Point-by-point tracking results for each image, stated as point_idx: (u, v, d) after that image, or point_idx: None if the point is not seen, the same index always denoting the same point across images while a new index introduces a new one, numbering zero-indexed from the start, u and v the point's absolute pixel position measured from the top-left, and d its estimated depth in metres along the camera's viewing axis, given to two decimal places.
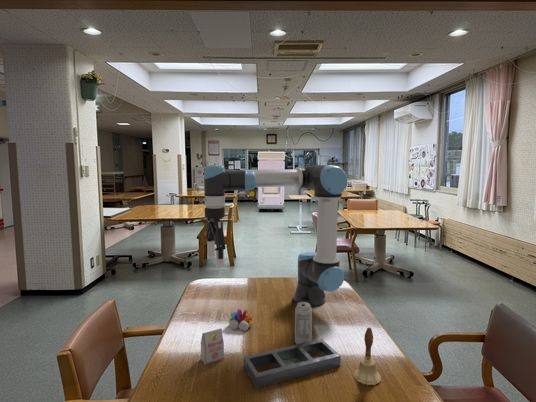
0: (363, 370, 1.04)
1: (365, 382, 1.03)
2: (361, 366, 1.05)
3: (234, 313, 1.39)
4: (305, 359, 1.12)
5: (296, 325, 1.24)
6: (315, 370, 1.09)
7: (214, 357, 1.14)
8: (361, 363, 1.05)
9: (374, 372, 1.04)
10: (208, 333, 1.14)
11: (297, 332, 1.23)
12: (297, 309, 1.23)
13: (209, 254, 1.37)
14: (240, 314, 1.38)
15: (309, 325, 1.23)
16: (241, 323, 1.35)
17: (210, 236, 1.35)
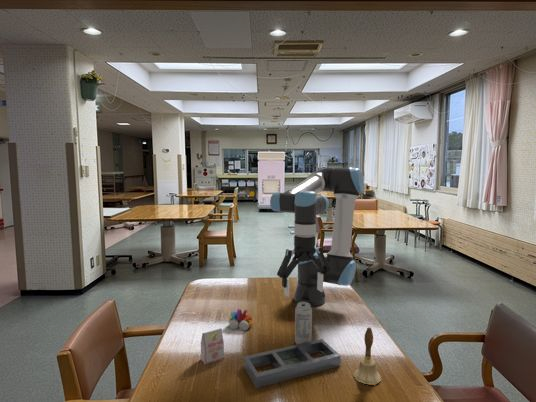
0: (363, 370, 1.04)
1: (365, 382, 1.03)
2: (361, 366, 1.05)
3: (234, 313, 1.39)
4: (305, 359, 1.12)
5: (296, 325, 1.24)
6: (315, 370, 1.09)
7: (214, 357, 1.14)
8: (361, 363, 1.05)
9: (374, 372, 1.04)
10: (208, 333, 1.14)
11: (297, 332, 1.23)
12: (297, 309, 1.23)
13: (318, 286, 1.27)
14: (240, 314, 1.38)
15: (309, 325, 1.23)
16: (241, 323, 1.35)
17: (317, 267, 1.25)
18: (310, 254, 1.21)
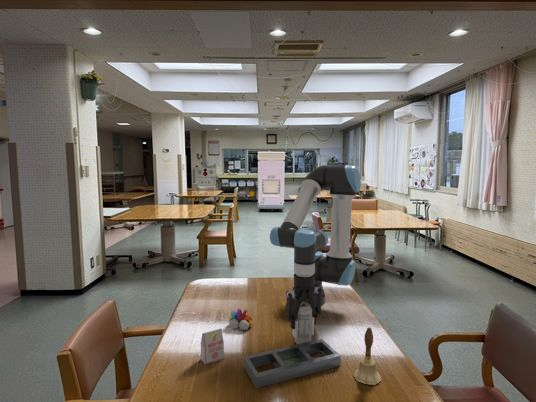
0: (363, 370, 1.04)
1: (365, 382, 1.03)
2: (361, 366, 1.05)
3: (234, 313, 1.39)
4: (305, 359, 1.12)
5: None
6: (315, 370, 1.09)
7: (214, 357, 1.14)
8: (361, 363, 1.05)
9: (374, 372, 1.04)
10: (208, 333, 1.14)
11: None
12: None
13: None
14: (240, 314, 1.39)
15: (309, 325, 1.23)
16: (241, 322, 1.35)
17: None
18: (309, 293, 1.22)
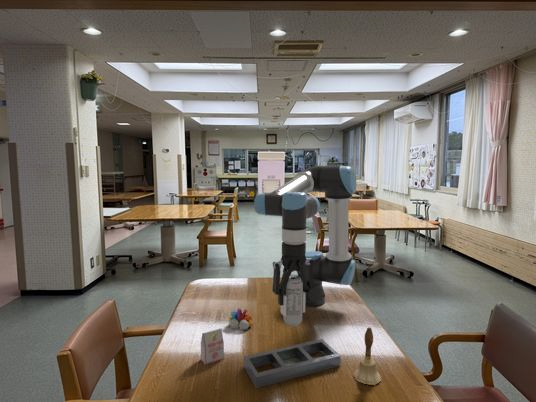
0: (363, 370, 1.04)
1: (365, 382, 1.03)
2: (361, 366, 1.05)
3: (234, 312, 1.40)
4: (305, 359, 1.12)
5: None
6: (315, 370, 1.09)
7: (214, 357, 1.14)
8: (361, 363, 1.05)
9: (374, 372, 1.04)
10: (208, 333, 1.14)
11: (286, 309, 1.08)
12: None
13: None
14: (240, 313, 1.39)
15: (299, 301, 1.07)
16: (241, 322, 1.35)
17: None
18: (299, 263, 1.07)
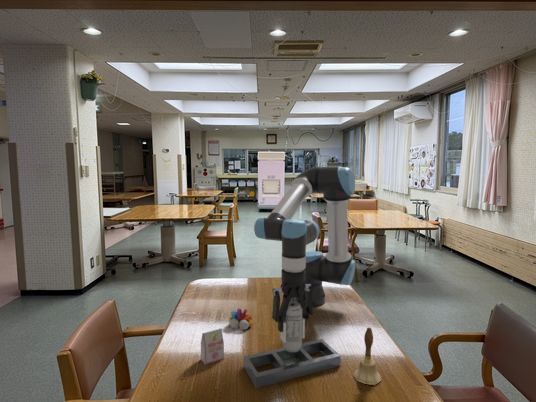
0: (363, 370, 1.04)
1: (365, 382, 1.03)
2: (361, 366, 1.05)
3: (234, 312, 1.40)
4: (305, 359, 1.12)
5: None
6: (315, 370, 1.09)
7: (214, 357, 1.14)
8: (361, 363, 1.05)
9: (374, 372, 1.04)
10: (208, 333, 1.14)
11: None
12: None
13: None
14: (240, 313, 1.39)
15: (299, 327, 1.08)
16: (241, 322, 1.35)
17: None
18: (299, 290, 1.08)
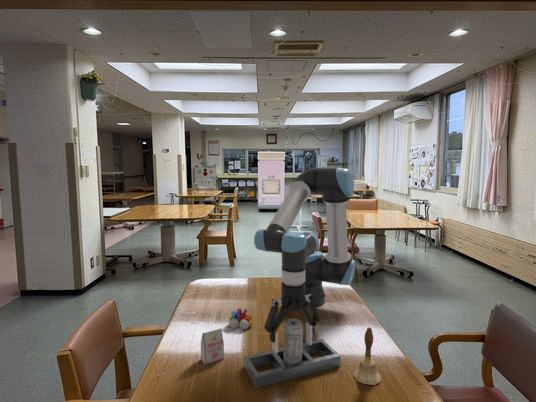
0: (363, 370, 1.04)
1: (365, 382, 1.03)
2: (361, 366, 1.05)
3: (234, 312, 1.40)
4: (305, 359, 1.12)
5: (285, 345, 1.10)
6: (315, 370, 1.09)
7: (214, 357, 1.14)
8: (361, 363, 1.05)
9: (374, 372, 1.04)
10: (208, 333, 1.14)
11: (286, 353, 1.10)
12: (286, 327, 1.09)
13: (306, 338, 1.14)
14: (240, 313, 1.39)
15: (299, 345, 1.09)
16: (241, 322, 1.36)
17: None
18: (299, 303, 1.08)
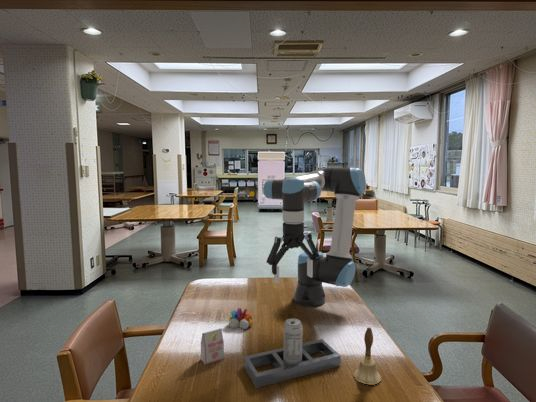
0: (363, 370, 1.04)
1: (365, 382, 1.03)
2: (361, 366, 1.05)
3: (234, 312, 1.40)
4: (305, 359, 1.12)
5: (284, 345, 1.10)
6: (315, 370, 1.09)
7: (214, 357, 1.14)
8: (361, 363, 1.05)
9: (374, 372, 1.04)
10: (208, 333, 1.14)
11: (286, 353, 1.10)
12: (286, 327, 1.09)
13: (307, 272, 1.28)
14: (240, 313, 1.39)
15: (299, 345, 1.09)
16: (241, 322, 1.36)
17: (306, 253, 1.26)
18: (299, 241, 1.21)
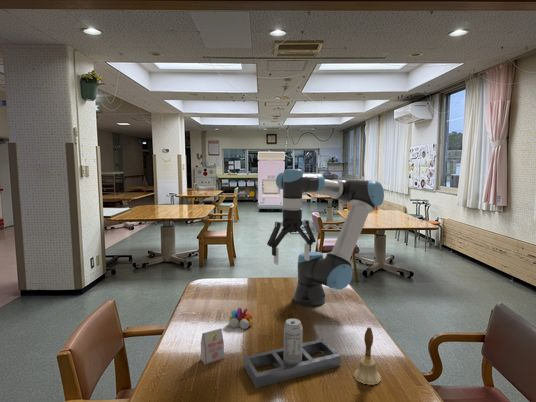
0: (363, 369, 1.04)
1: (365, 382, 1.03)
2: (361, 366, 1.05)
3: (234, 311, 1.40)
4: (305, 359, 1.12)
5: (285, 345, 1.10)
6: (315, 370, 1.09)
7: (214, 357, 1.14)
8: (361, 363, 1.05)
9: (374, 372, 1.04)
10: (208, 333, 1.14)
11: (286, 353, 1.10)
12: (286, 327, 1.09)
13: (305, 256, 1.39)
14: (240, 312, 1.40)
15: (299, 345, 1.09)
16: (241, 321, 1.36)
17: (303, 238, 1.38)
18: (297, 226, 1.33)
